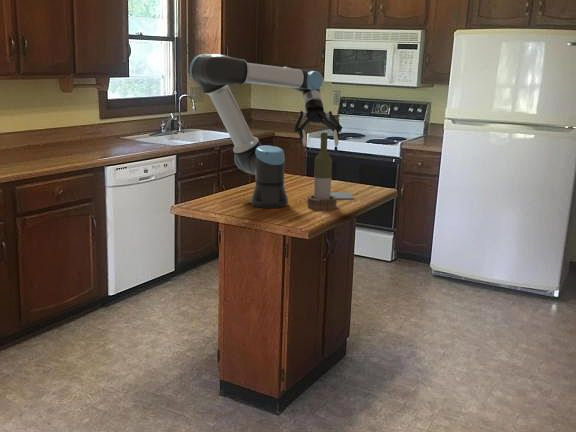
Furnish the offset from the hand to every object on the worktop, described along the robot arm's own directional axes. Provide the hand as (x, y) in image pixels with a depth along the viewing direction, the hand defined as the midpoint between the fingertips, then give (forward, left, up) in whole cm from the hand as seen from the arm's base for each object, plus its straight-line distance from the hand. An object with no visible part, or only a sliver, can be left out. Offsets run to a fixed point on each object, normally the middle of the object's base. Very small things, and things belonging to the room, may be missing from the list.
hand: (321, 144), depth 263 cm
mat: (+10, +11, -24) cm, 29 cm away
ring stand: (0, -9, -24) cm, 26 cm away
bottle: (0, -9, -25) cm, 26 cm away
